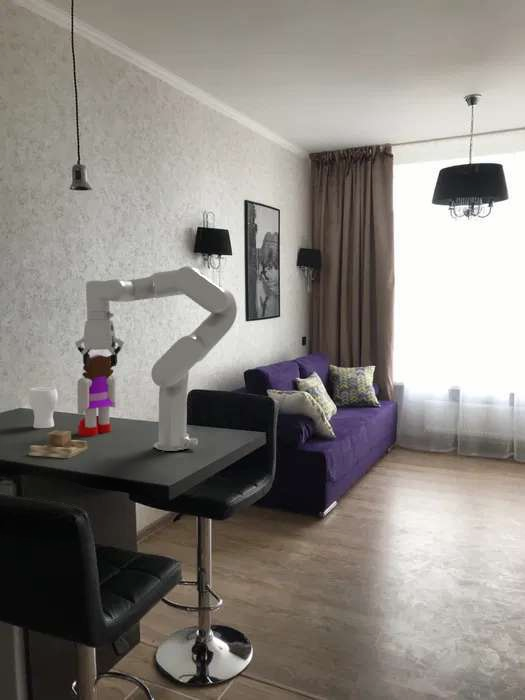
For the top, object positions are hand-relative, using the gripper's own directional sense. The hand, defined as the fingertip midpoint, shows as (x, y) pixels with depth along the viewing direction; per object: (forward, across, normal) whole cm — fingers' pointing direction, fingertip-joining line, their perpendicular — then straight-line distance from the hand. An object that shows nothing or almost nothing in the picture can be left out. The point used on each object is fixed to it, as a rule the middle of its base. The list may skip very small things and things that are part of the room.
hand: (100, 366), depth 196 cm
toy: (+27, +11, -16) cm, 34 cm away
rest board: (+27, +10, +13) cm, 32 cm away
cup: (+26, +34, -21) cm, 48 cm away
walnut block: (+26, +10, +13) cm, 31 cm away
